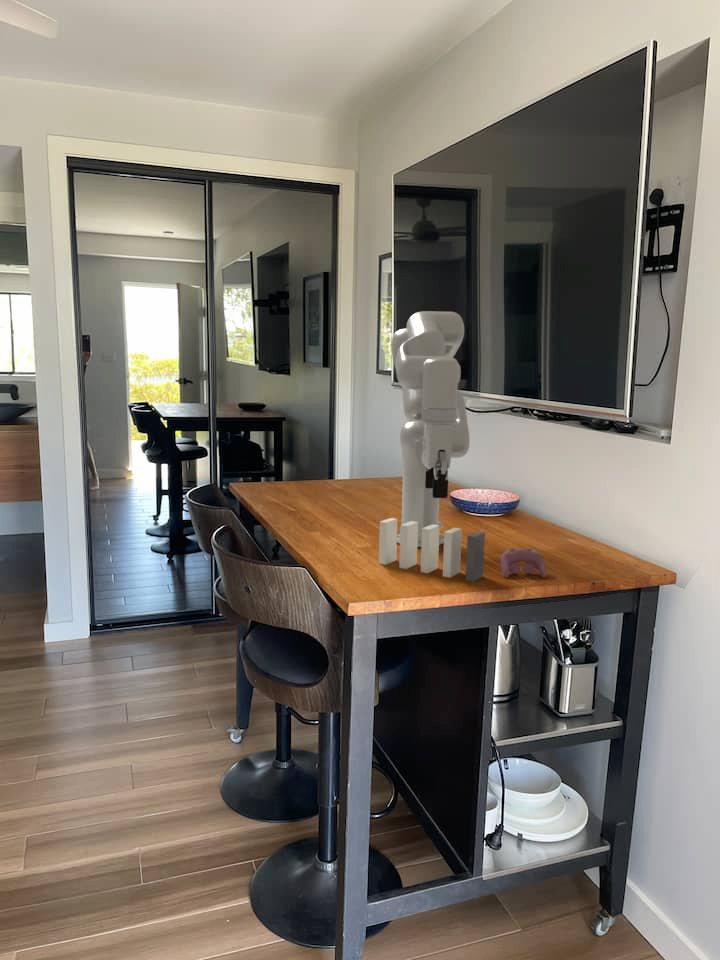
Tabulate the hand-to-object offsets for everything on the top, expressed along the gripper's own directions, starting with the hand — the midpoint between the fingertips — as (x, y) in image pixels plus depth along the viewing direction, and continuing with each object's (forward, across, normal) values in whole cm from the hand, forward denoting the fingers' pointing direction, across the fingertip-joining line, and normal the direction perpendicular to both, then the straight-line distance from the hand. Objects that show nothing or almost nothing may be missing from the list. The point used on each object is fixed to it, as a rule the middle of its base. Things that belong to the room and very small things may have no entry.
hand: (435, 492), depth 159 cm
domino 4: (+18, +4, +4) cm, 18 cm away
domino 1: (+18, -6, -10) cm, 21 cm away
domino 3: (+18, 0, -1) cm, 18 cm away
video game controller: (+18, +5, +19) cm, 27 cm away
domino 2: (+18, -3, -5) cm, 19 cm away
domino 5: (+18, +7, +8) cm, 21 cm away
